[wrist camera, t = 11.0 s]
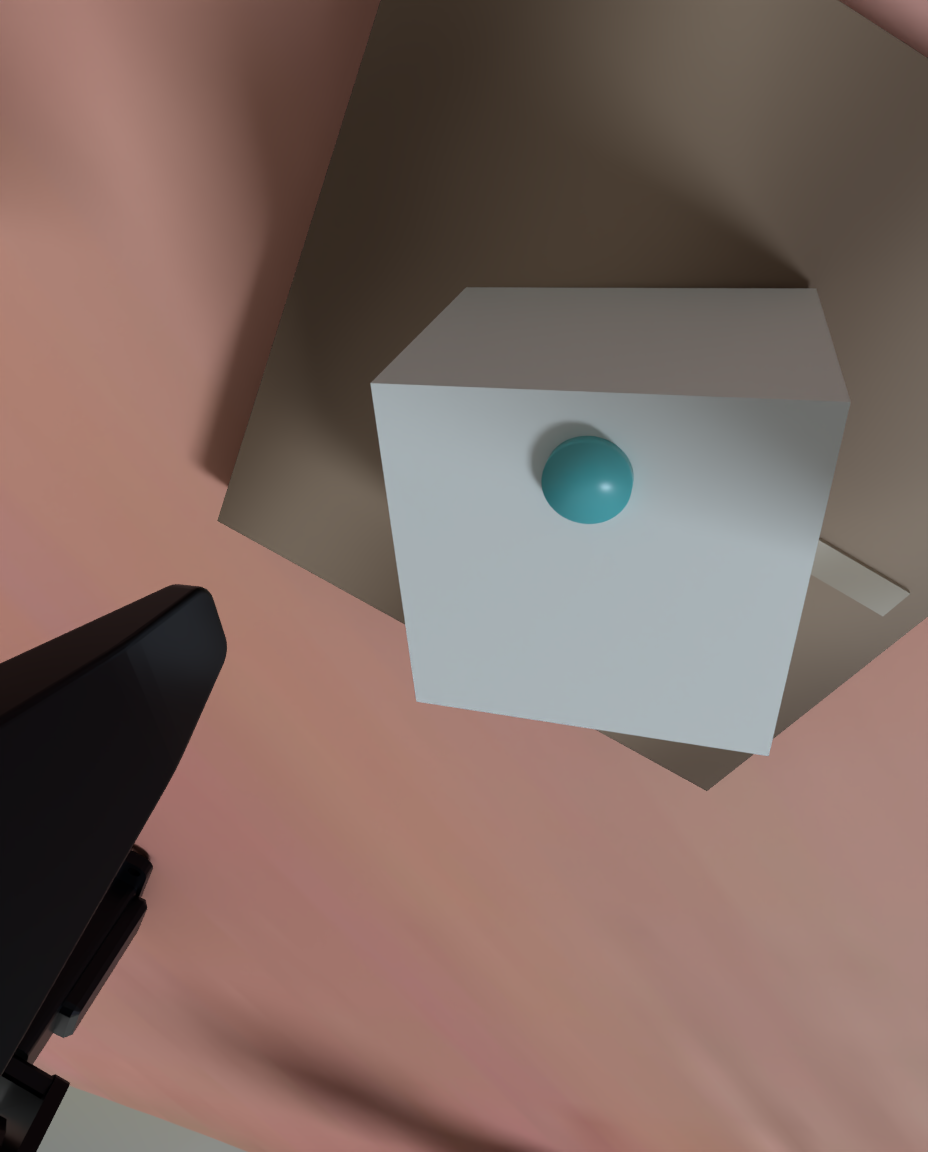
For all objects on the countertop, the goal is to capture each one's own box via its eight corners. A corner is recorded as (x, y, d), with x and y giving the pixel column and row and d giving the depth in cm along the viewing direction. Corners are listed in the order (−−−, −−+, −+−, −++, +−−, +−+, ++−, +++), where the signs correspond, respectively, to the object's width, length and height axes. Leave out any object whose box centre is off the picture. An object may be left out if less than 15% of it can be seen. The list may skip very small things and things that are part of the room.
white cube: (760, 584, 13) (769, 767, 10) (483, 556, 15) (412, 710, 11) (816, 288, 10) (853, 409, 7) (466, 287, 12) (363, 389, 9)
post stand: (240, 497, 17) (138, 600, 14) (479, -223, 9) (367, -339, 6) (707, 756, 18) (705, 907, 15) (1268, 287, 10) (1501, 397, 7)
